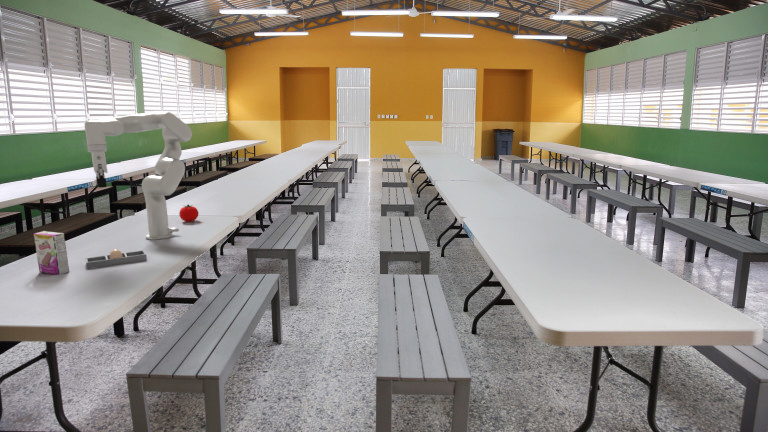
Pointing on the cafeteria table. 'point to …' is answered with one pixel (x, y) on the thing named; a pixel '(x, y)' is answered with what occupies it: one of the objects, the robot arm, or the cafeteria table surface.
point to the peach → (115, 254)
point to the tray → (115, 259)
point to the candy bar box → (51, 252)
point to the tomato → (188, 213)
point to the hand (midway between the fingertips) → (101, 185)
